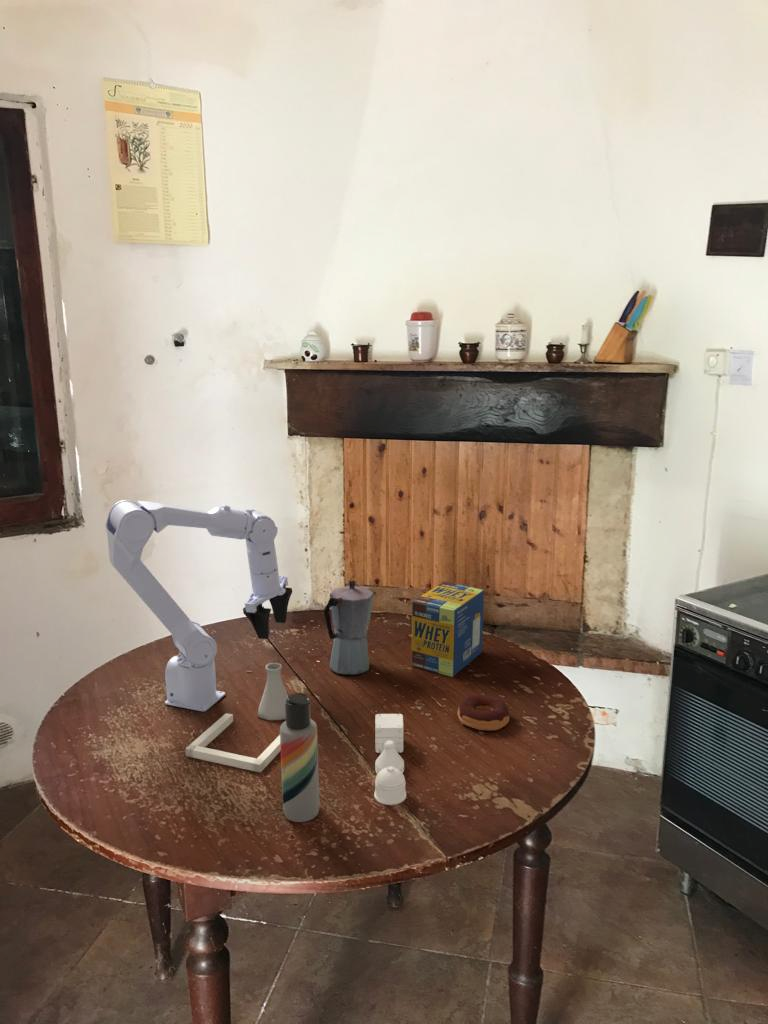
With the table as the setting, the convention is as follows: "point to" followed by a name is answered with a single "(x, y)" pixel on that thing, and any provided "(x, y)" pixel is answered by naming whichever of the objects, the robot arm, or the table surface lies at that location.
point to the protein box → (447, 628)
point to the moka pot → (349, 628)
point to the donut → (483, 712)
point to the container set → (389, 759)
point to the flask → (273, 695)
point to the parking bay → (235, 760)
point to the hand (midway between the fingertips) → (272, 629)
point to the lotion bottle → (299, 760)
